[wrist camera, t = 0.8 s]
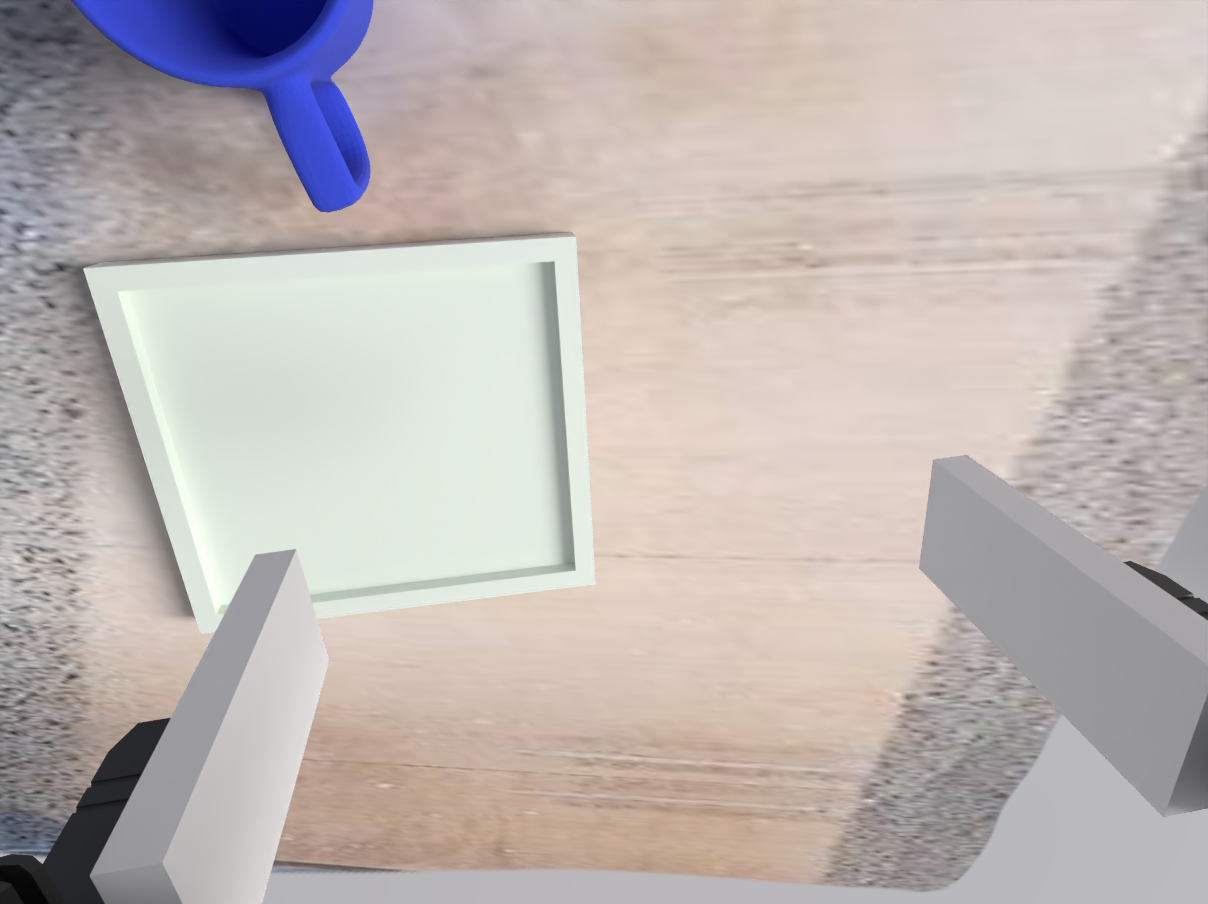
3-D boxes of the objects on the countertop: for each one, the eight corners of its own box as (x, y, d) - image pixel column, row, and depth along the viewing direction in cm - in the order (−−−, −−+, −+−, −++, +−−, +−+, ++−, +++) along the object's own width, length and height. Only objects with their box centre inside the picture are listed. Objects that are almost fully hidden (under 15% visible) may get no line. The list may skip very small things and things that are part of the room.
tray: (101, 262, 31) (82, 268, 29) (571, 232, 33) (575, 236, 32) (210, 615, 38) (200, 633, 37) (591, 568, 41) (595, 584, 39)
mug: (286, 224, 32) (208, 258, 22) (121, -105, 26) (-65, -232, 17) (465, 159, 32) (460, 167, 23) (336, -181, 27) (261, -347, 17)
